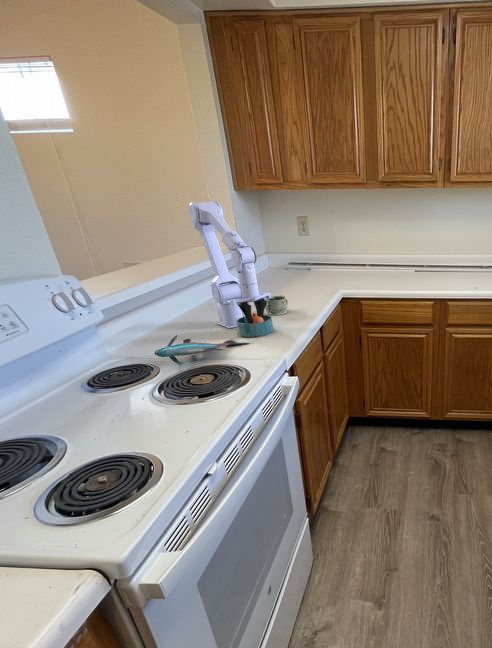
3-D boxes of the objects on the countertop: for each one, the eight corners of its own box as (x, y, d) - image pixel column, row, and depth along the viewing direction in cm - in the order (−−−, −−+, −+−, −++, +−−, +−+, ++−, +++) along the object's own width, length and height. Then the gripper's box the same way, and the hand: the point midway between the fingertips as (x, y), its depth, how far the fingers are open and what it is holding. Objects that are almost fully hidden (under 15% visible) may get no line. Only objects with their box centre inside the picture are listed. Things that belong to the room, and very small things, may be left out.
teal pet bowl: (232, 333, 150) (229, 320, 148) (262, 325, 158) (260, 312, 156) (249, 340, 143) (247, 326, 141) (280, 331, 151) (277, 318, 149)
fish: (140, 363, 121) (169, 372, 114) (138, 335, 119) (167, 342, 112) (230, 351, 146) (259, 358, 139) (229, 327, 144) (258, 333, 137)
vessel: (281, 308, 181) (279, 293, 179) (295, 310, 177) (293, 295, 174) (259, 314, 172) (256, 300, 170) (274, 317, 168) (271, 302, 165)
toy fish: (244, 324, 151) (241, 312, 149) (253, 321, 154) (251, 310, 152) (257, 328, 145) (255, 316, 144) (266, 326, 148) (264, 314, 146)
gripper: (234, 288, 136) (242, 328, 141) (273, 281, 145) (279, 318, 151) (224, 286, 140) (232, 325, 145) (262, 279, 150) (268, 315, 155)
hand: (255, 321), depth 148 cm, fingers closed on toy fish, 3 cm apart
